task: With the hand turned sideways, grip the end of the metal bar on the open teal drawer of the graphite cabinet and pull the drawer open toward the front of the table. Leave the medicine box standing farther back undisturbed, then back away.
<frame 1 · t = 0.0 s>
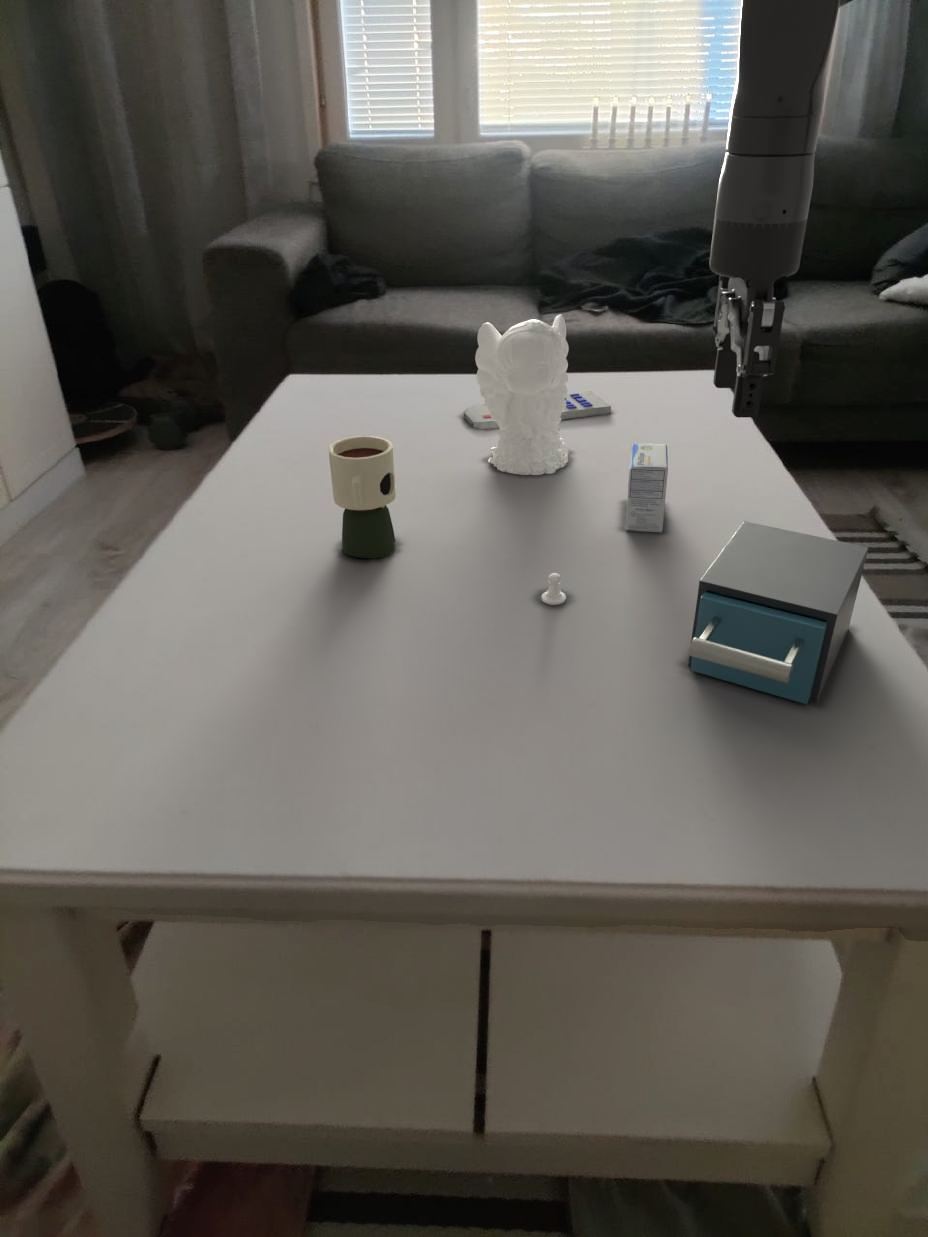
hand: (734, 400, 83), 21 cm above the table, tool pointing down, fingers open, 8 cm apart
medicine box: (643, 522, 110), on the table
character mug: (369, 553, 104), on the table
open teal drawer: (764, 632, 79), point 5 cm above the table, slide at 0.0 cm
remote control: (537, 417, 143), on the table
small drawer unit: (769, 651, 85), on the table
chess pawn: (553, 604, 93), on the table
cherub figurine: (523, 462, 127), on the table
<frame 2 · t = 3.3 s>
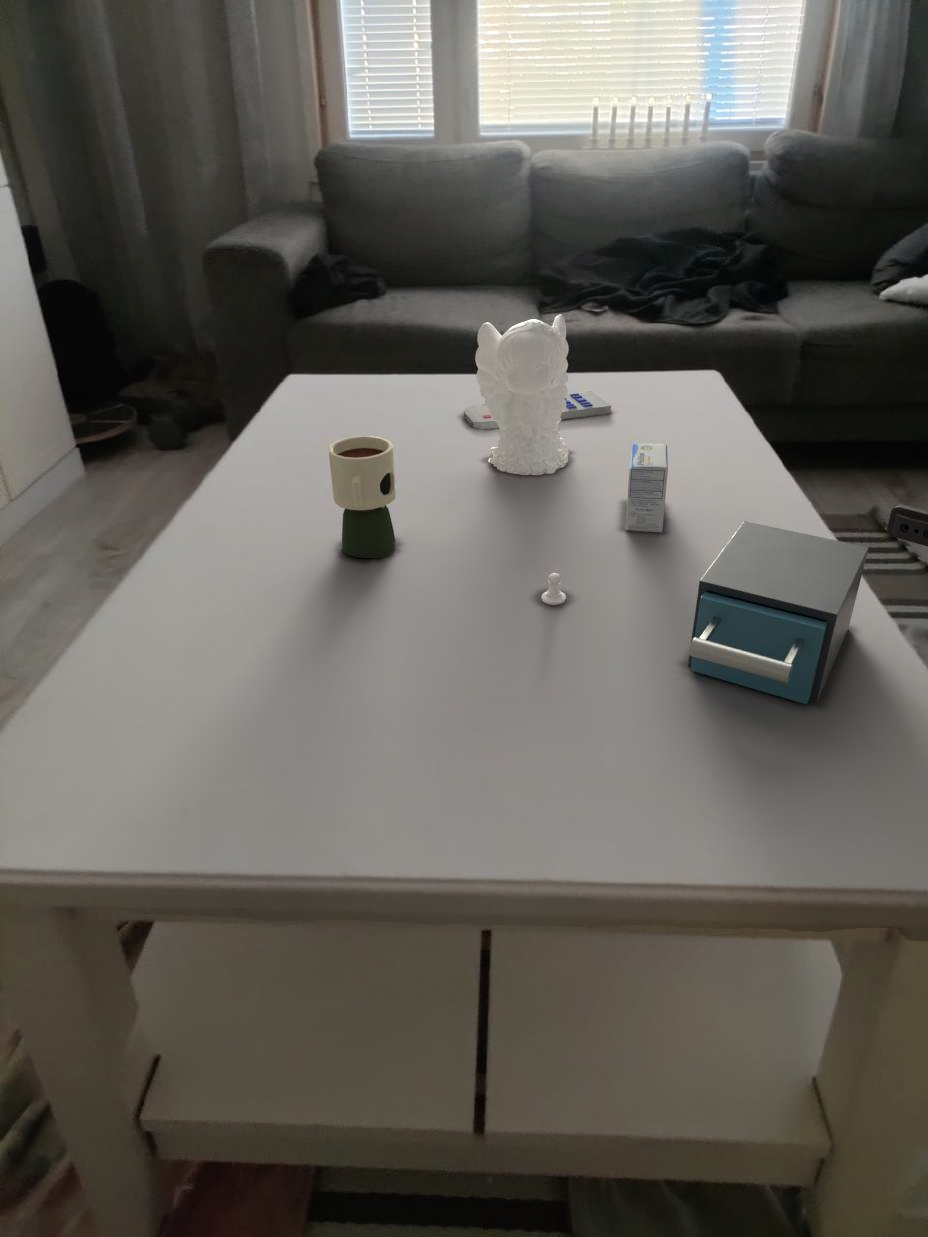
hand: (918, 505, 65), 20 cm above the table, tool horizontal, fingers open, 8 cm apart
nothing on the table moved.
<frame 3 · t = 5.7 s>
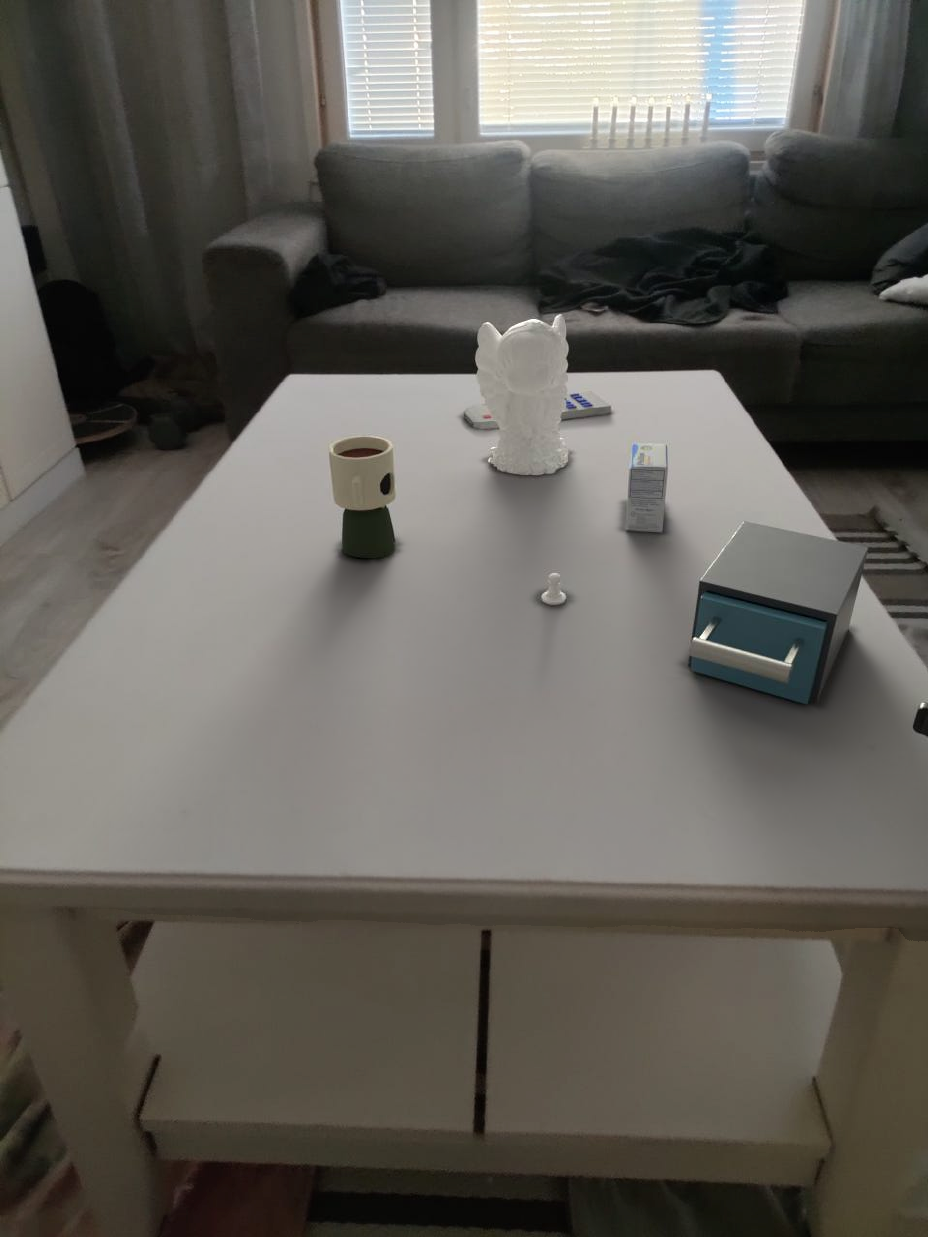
hand: (924, 684, 64), 9 cm above the table, tool horizontal, fingers open, 8 cm apart
nothing on the table moved.
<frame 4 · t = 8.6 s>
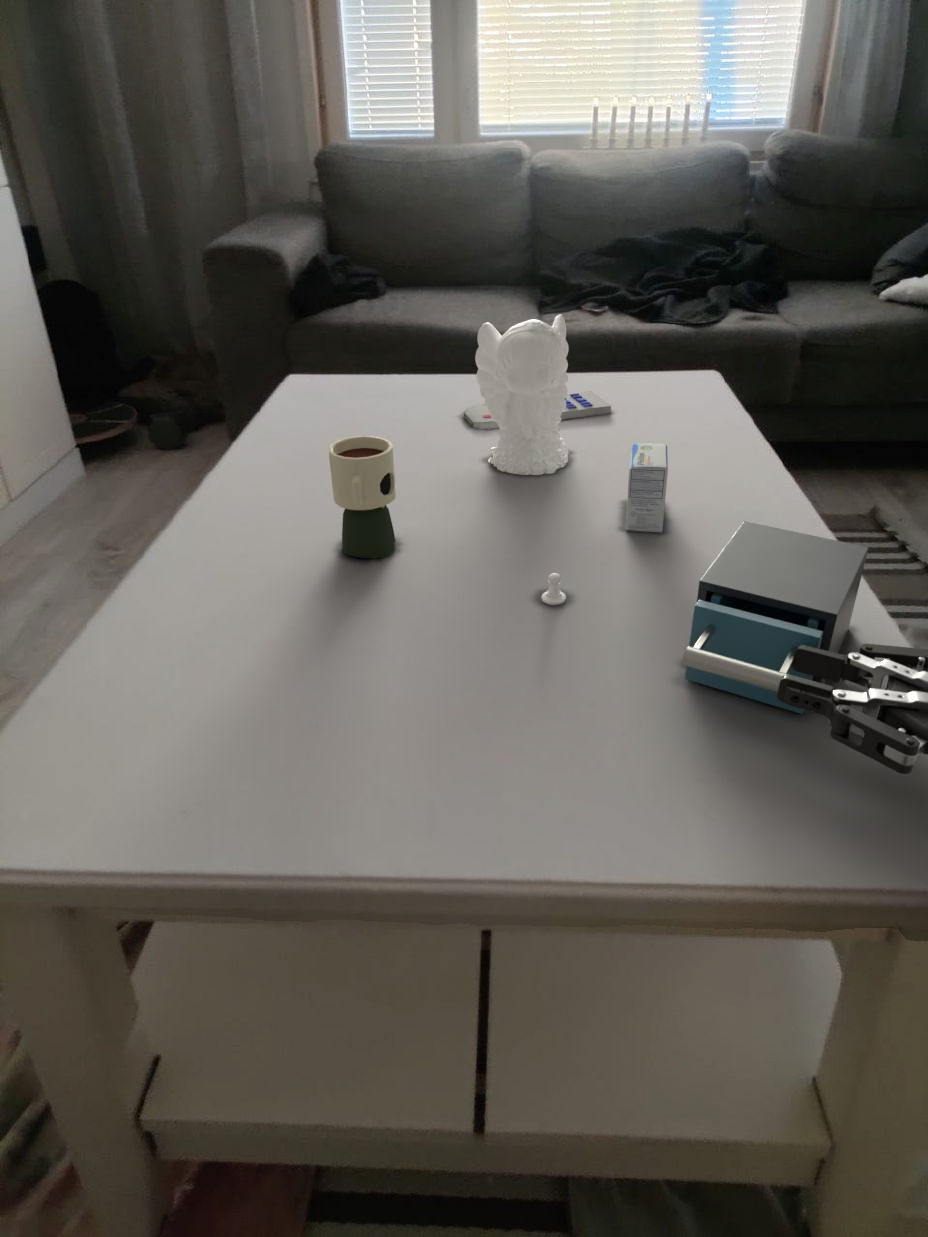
hand: (788, 671, 70), 7 cm above the table, tool horizontal, fingers closed on open teal drawer, 4 cm apart
open teal drawer: (759, 640, 78), point 5 cm above the table, slide at 1.5 cm, touching gripper
everything else where it was.
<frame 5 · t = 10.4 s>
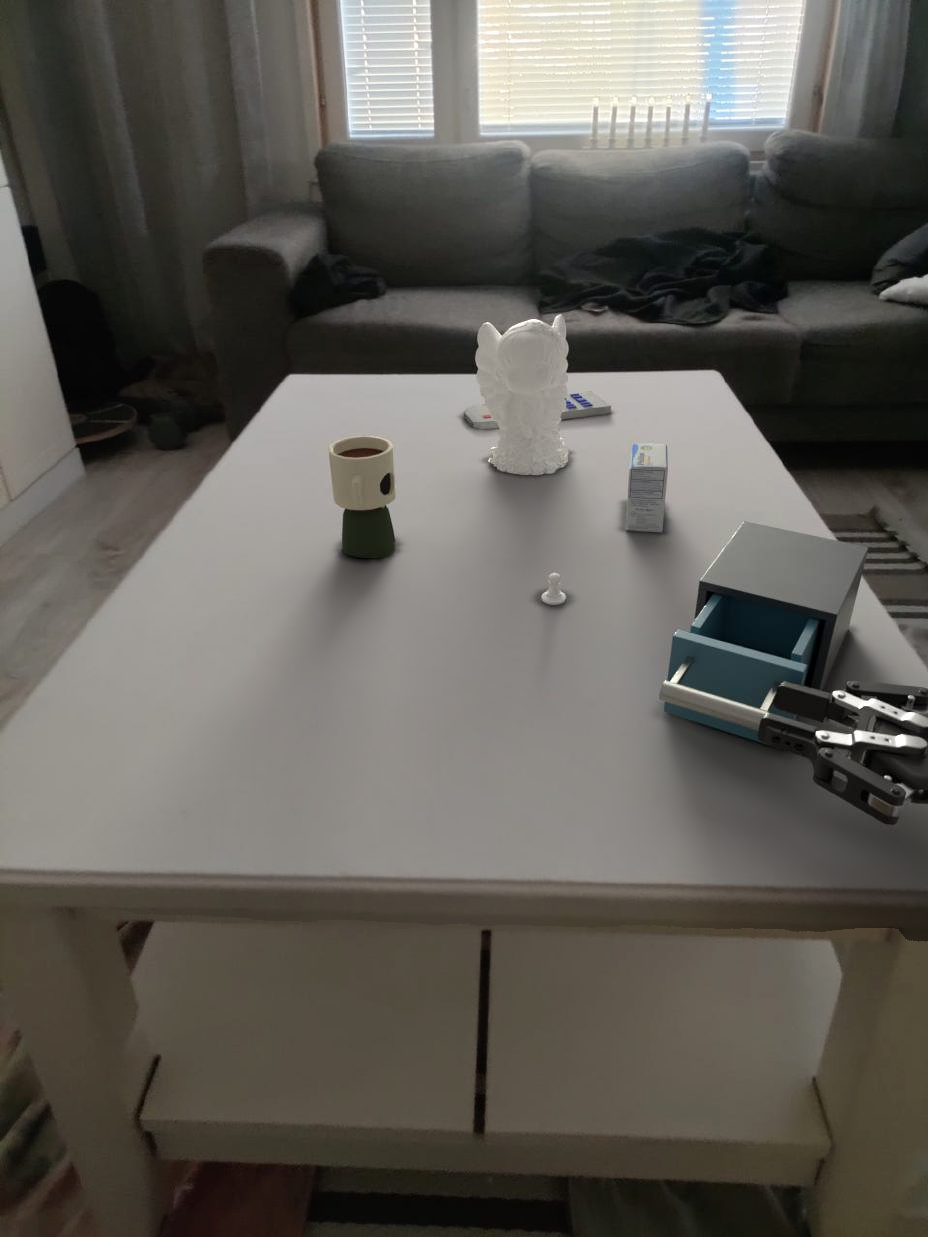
hand: (769, 709, 66), 7 cm above the table, tool horizontal, fingers closed on open teal drawer, 3 cm apart
open teal drawer: (741, 672, 74), point 5 cm above the table, slide at 7.0 cm, touching gripper
everything else where it was.
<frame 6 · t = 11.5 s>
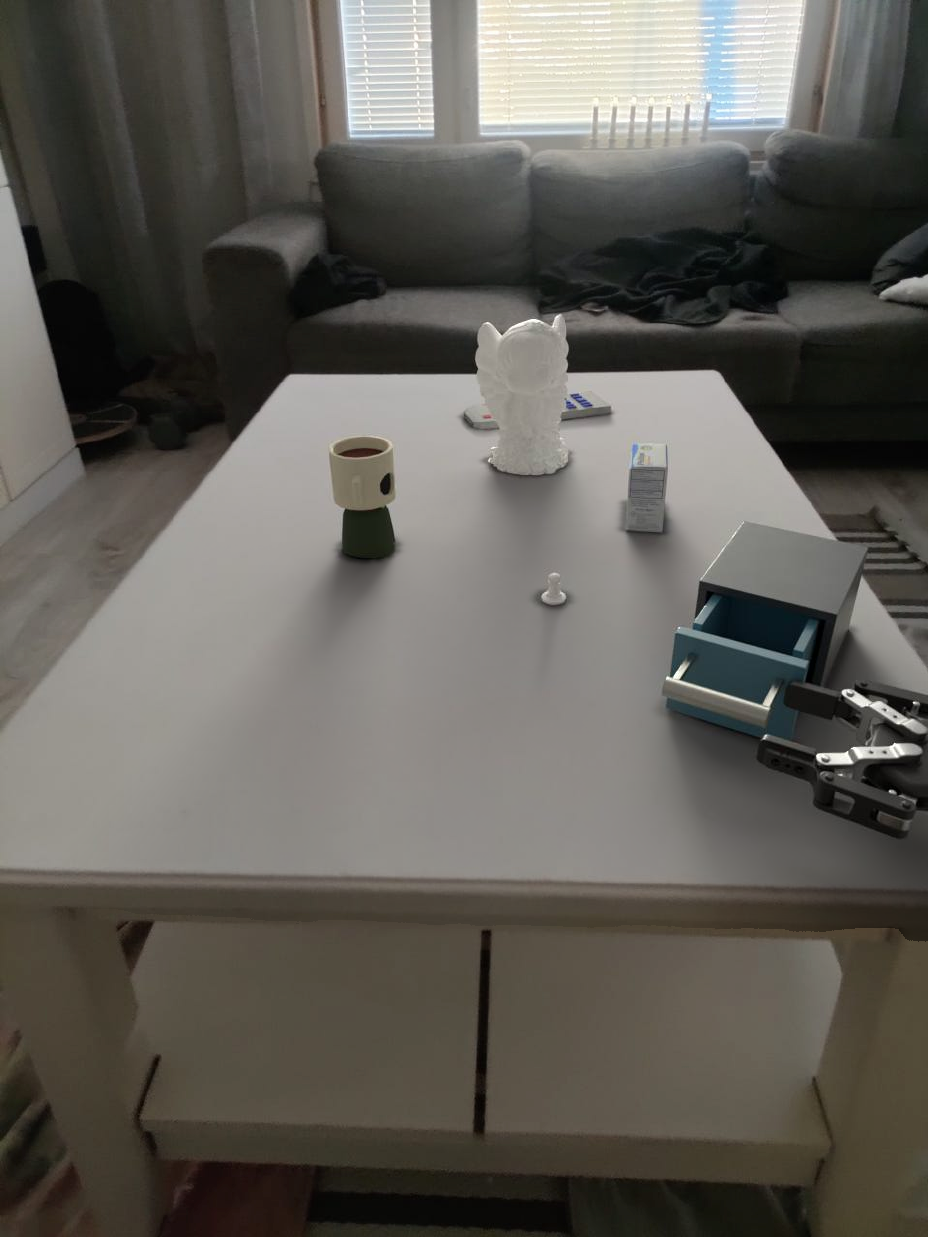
hand: (773, 719, 66), 7 cm above the table, tool horizontal, fingers open, 7 cm apart
open teal drawer: (743, 668, 74), point 5 cm above the table, slide at 6.4 cm
everything else where it was.
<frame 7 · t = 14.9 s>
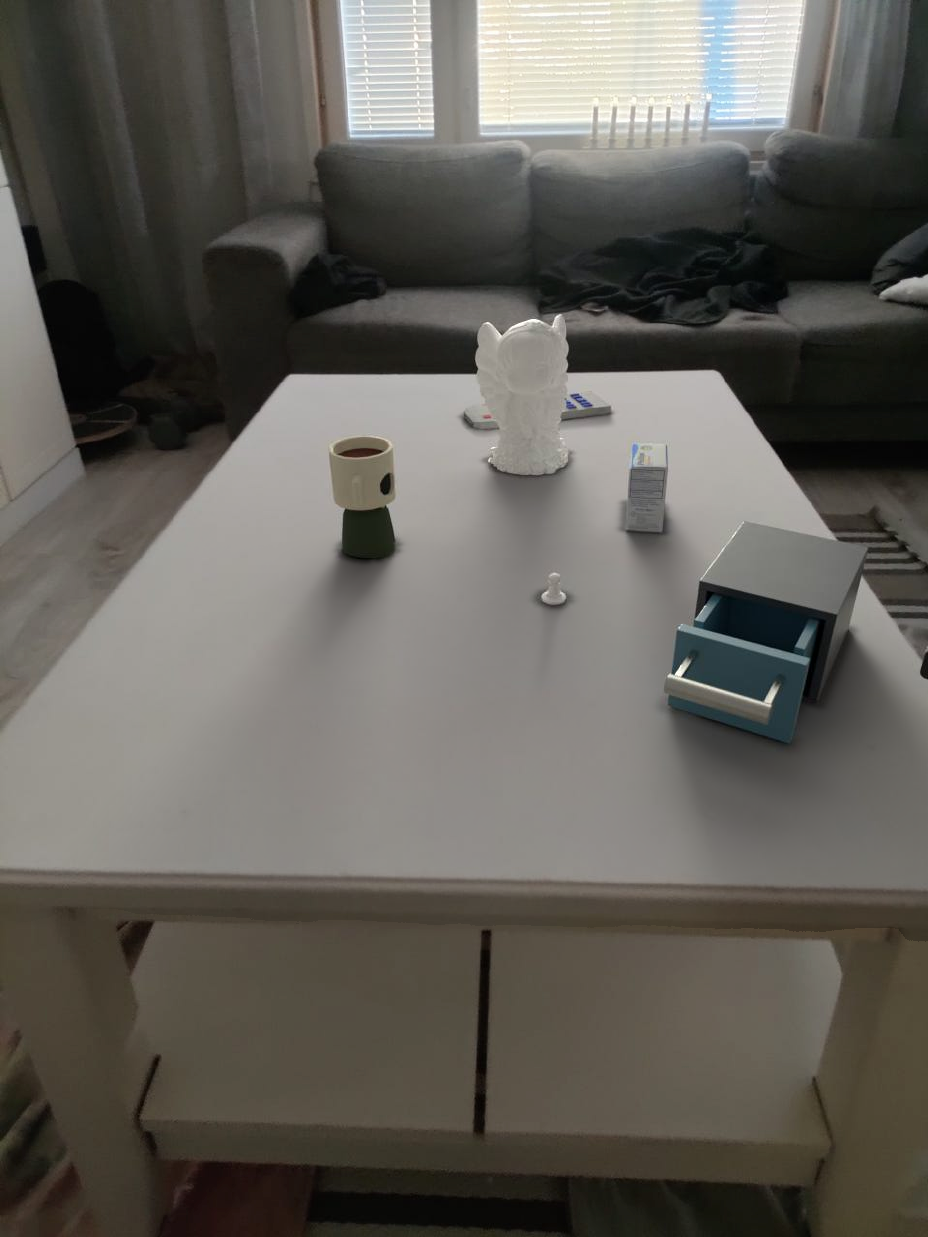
open teal drawer: (744, 666, 75), point 5 cm above the table, slide at 6.0 cm
everything else where it was.
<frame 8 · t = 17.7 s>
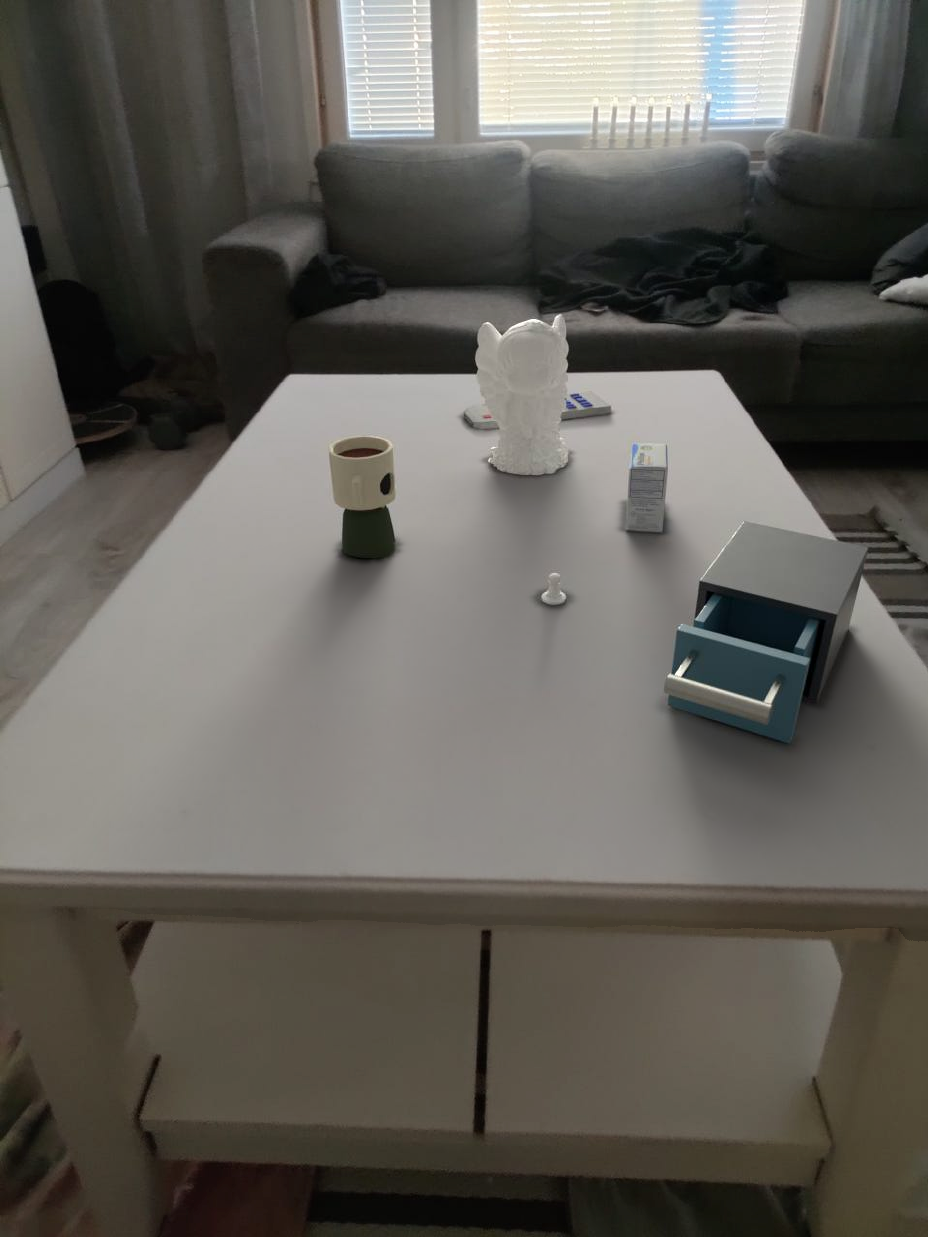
nothing on the table moved.
at the end: open teal drawer slide at 6.0 cm; medicine box moved 0.2 cm from its start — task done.
